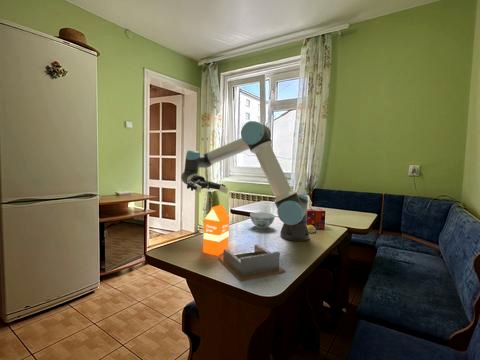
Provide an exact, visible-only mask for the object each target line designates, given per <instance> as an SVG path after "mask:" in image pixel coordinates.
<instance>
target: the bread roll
mask: <svg viewBox="0 0 480 360" xmlns="http://www.w3.org/2000/svg"><path fill="white" fill-rule="evenodd" d="M307 228H308V232H309V234H313V232H314V233H315V232H316V227H315V226H314V225H313V224H307Z"/></svg>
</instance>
